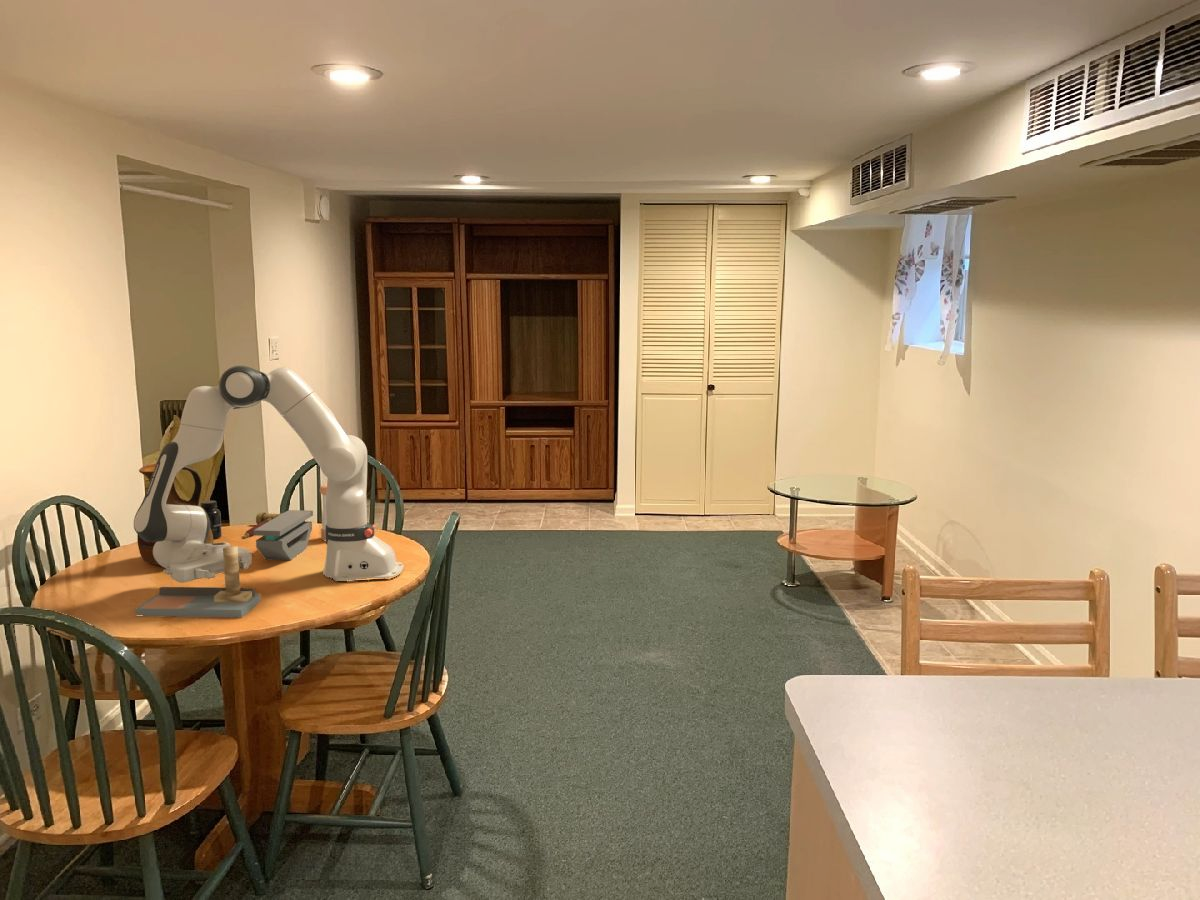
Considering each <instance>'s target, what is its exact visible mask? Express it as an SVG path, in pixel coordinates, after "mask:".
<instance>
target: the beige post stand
mask: <svg viewBox="0 0 1200 900" xmlns="http://www.w3.org/2000/svg"><path fill="white" fill-rule="evenodd" d="M238 547H239V546H236V545H230V546H228V547H224V548H223V557H224V572H223V573H224V585H225V586H224V588H226V591H220V592H219V593H217V594H216V595H215V596H214V602H247V601H248V600H249V599H250V598H251V597H252V591H240V588H241V582H240V581H241V579H240V568H239V562H238Z"/></svg>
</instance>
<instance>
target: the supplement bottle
mask: <svg viewBox="0 0 1200 900" xmlns="http://www.w3.org/2000/svg"><path fill="white" fill-rule="evenodd" d="M217 504H218V503H217V501H216V500H203V501H201V502H200V505H199V506H200V507H202V508H203V509H204V510H205V511H206V513H207V515H208V517H209V519H210V528H211V531H212V534H213V540H217V539H218V540H219V539H220V538H221V537H222V534H223V533H222V521H221V520H222V518H221V517H222V514H221V511H220V509H218V505H217Z"/></svg>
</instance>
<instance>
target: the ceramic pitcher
mask: <svg viewBox="0 0 1200 900" xmlns="http://www.w3.org/2000/svg"><path fill="white" fill-rule="evenodd" d="M155 466H156V463H153V464H151V463H150V464H148V465H145V466H142V467H140V468H139V469H138V472H139V473H141V475H143V476H145V477H146V478H147V479H148V481H149V483H150V480H151V477H152V474H153V472H154V469H155ZM181 470H182V471H183V470H184V471H188V472H189V473H191V475H192V477H193V481H194V490H193V493H192V496H191V498H190V499H189V500H186V499H183V498H181V497H180V496H179V494H178V493H177V490H176V487H175V483H174V482H175V481H173V484H172V487H171V490H170V492H169V495H168V498H167V501H166V504H171V505H192V506H199V504H200V500H201V493H202V488H203V487H202V484H203V483H202V478H201V477H200V475H199V473H198V471H196V470H195V468H193V466H191V465H188V466H185V467H184V468H182V469H181ZM181 470H180V471H181ZM149 483H148V484H149ZM136 534H137V533H136ZM155 543H156V542H146V541H144V540H143V539H142V538H141V537H140V536H139V535H138V534H137V546H138V551H139V554H140V557H141V559H142V561H144V562H146V563H148V564H152V565H160V564H158V562H157V561H156V560H155V558H154V556H153V547H154V545H155ZM205 544H214V539H213V534H212V531H211V528H210V532H209V536H208V538H207V540H206V542H205ZM160 566H161V565H160Z"/></svg>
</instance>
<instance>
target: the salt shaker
mask: <svg viewBox="0 0 1200 900" xmlns="http://www.w3.org/2000/svg"><path fill="white" fill-rule="evenodd" d="M319 492H320V494H321V495H322V512H321V529H320V538H321V539H322V540H326V539H325V529H326V525H327V514H326V493H327V483H325V484H323V485H321V486H320V488H319ZM322 540H321V541H322Z"/></svg>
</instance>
